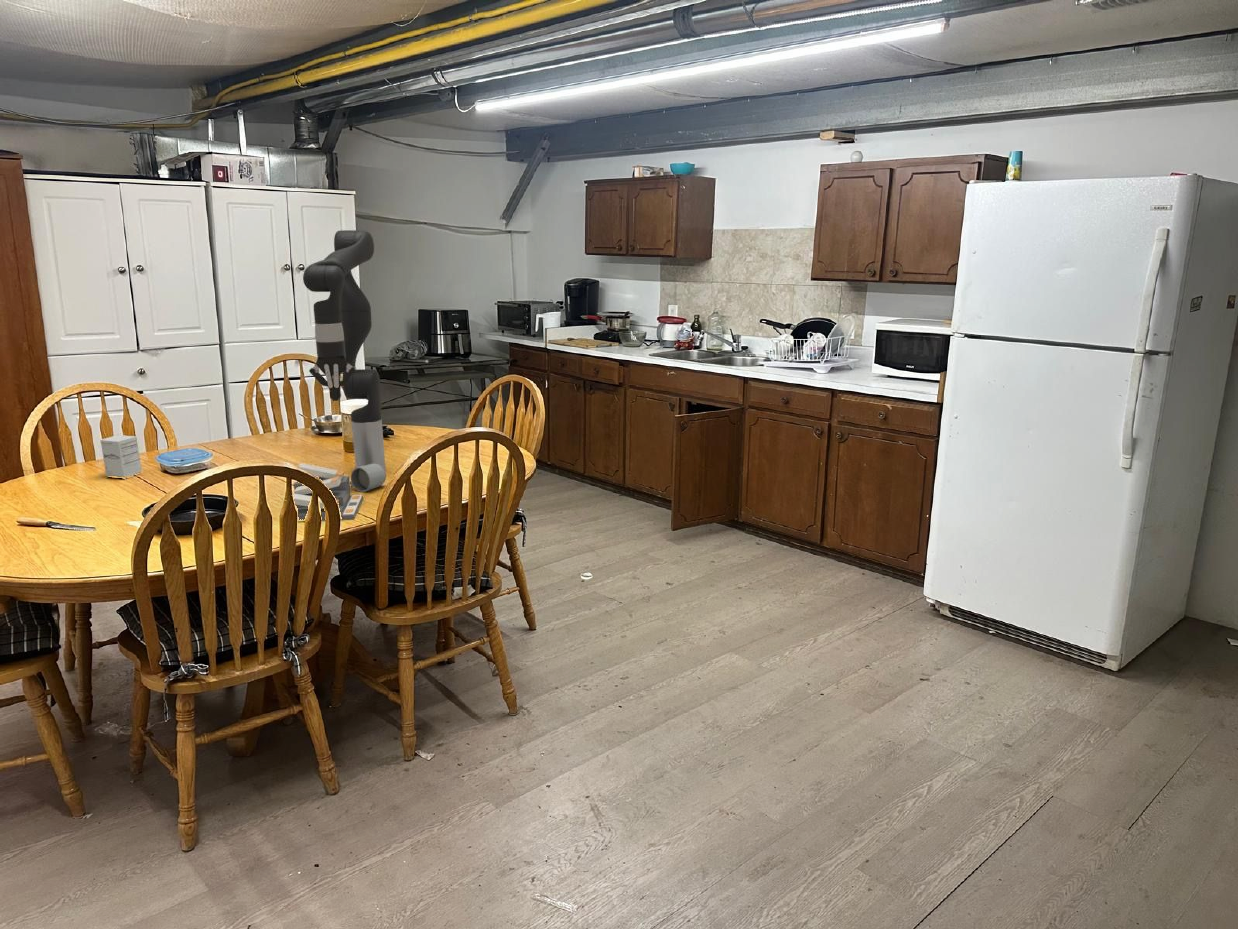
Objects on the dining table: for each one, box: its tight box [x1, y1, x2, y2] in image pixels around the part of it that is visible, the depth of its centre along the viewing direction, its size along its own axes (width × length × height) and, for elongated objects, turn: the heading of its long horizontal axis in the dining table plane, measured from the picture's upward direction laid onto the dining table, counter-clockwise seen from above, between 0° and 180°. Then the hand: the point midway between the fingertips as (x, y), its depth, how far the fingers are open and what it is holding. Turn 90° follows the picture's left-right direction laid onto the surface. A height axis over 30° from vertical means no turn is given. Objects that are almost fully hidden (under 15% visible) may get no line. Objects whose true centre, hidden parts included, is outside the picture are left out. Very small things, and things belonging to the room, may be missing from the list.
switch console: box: [293, 475, 364, 522], centre depth 238 cm, size 18×18×8 cm
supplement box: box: [100, 434, 143, 478], centre depth 270 cm, size 7×7×13 cm
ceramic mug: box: [349, 464, 387, 493], centre depth 258 cm, size 11×8×8 cm
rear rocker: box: [297, 462, 345, 480], centre depth 242 cm, size 4×12×2 cm, turn 98°
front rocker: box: [292, 493, 339, 509], centre depth 232 cm, size 4×12×2 cm, turn 98°
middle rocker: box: [293, 476, 341, 495], centre depth 237 cm, size 4×12×2 cm, turn 98°
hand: (335, 400), depth 242 cm, fingers closed
